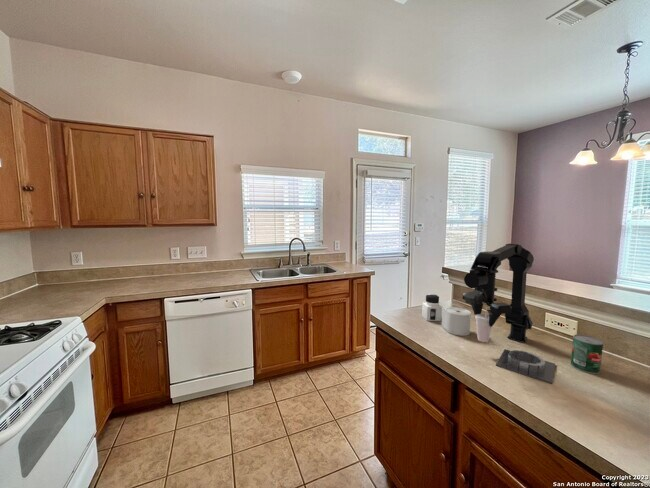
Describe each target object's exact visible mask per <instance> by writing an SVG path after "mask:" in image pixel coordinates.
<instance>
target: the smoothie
mask: <svg viewBox="0 0 650 488" xmlns="http://www.w3.org/2000/svg"><path fill="white" fill-rule="evenodd" d="M487 310H488V305H485V313H481V314H476V315H475V314H474V319H475V323H476V336H477V341H479V342H483V343H488V342H489V339H490V335H491V329H492V327H490V326H489V314H488V312H487Z"/></svg>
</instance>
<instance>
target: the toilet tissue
mask: <svg viewBox="0 0 650 488" xmlns="http://www.w3.org/2000/svg"><path fill="white" fill-rule="evenodd" d="M441 307H442V318H441V327H442V328H443V329H444V330H445V331H446V332H448V333H449V334H452V335H455V336H460V337H461V336H469V335H470V334H471V320H472V319H471V317H472V312H471V311H470V310H468V309H465V308H461V307H448V308H446V309H445V308H444V307H443V306H441Z"/></svg>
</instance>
